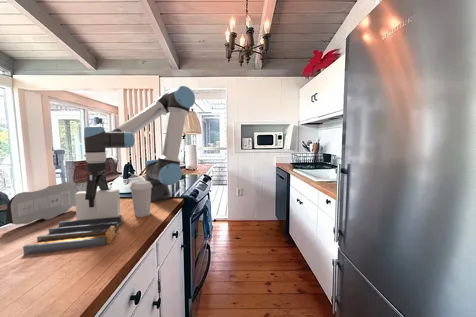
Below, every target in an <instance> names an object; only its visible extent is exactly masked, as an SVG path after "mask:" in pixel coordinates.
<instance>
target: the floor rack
mask: <svg viewBox="0 0 476 317" xmlns="http://www.w3.org/2000/svg"><path fill="white" fill-rule="evenodd" d="M122 222H123V221H122V216H121V215H120V216H119V217H108V218H96V219H85V220H77V219H75V220H74V219H73V220H64V221H59V222H58V226H57V227H51V228H49V229H48V233H47V234H46V235H38V236H37V237H36V242H35V243H33V244H27V245H26V244H25V245H24V246H23V256H26V255H34V254H43V253H50V252H61V251H68V250H77V249H85V248H93V247H94V248H95V247H102V246H106V245H109V244H111V243H112V242H113V240H114V239H115V237H116V231H117V229H118V228H119V227H120V225H121V224H122Z"/></svg>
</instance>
